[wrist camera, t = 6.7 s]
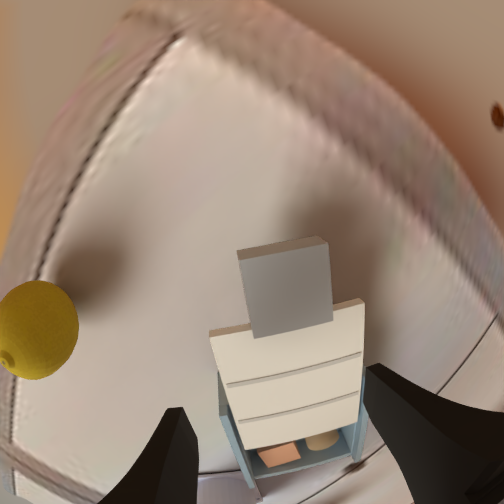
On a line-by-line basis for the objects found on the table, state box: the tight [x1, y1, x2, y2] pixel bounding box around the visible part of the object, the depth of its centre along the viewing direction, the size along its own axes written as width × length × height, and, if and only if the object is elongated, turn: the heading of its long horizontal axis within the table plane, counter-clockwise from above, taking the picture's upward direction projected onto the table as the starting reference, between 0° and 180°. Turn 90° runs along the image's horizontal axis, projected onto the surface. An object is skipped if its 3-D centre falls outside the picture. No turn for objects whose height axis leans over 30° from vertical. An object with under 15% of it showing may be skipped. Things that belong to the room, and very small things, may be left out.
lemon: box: [0, 280, 79, 380], centre depth 13 cm, size 6×6×8 cm
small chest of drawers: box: [209, 235, 365, 450], centre depth 15 cm, size 14×8×2 cm, turn 9°
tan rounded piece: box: [305, 429, 339, 451], centre depth 21 cm, size 3×3×2 cm
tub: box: [218, 364, 369, 489], centre depth 20 cm, size 11×10×5 cm
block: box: [257, 440, 301, 468], centre depth 21 cm, size 3×3×2 cm
